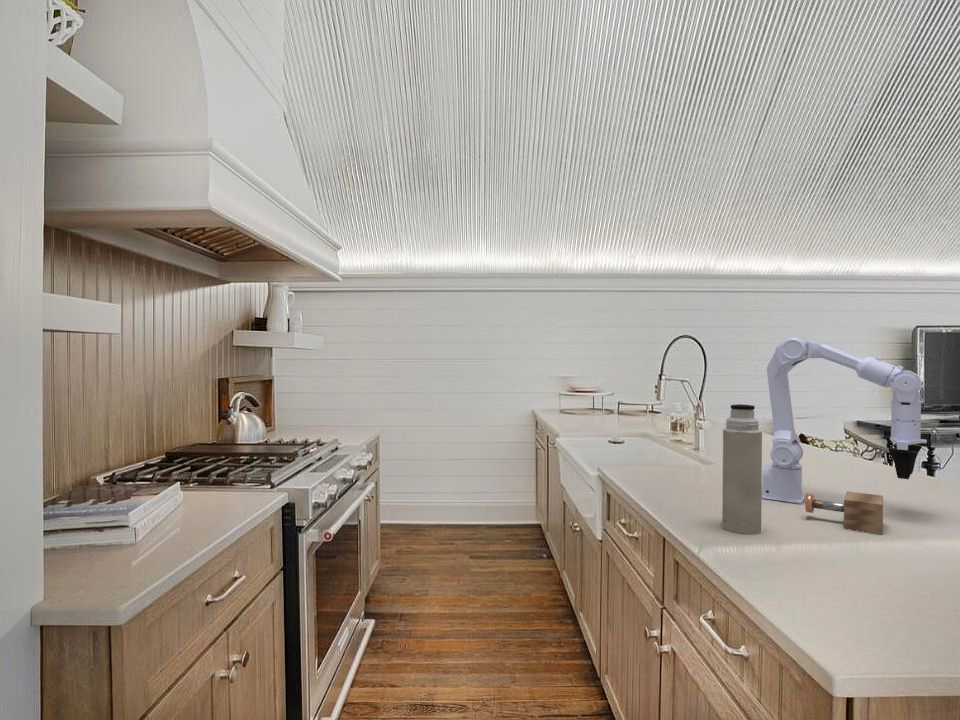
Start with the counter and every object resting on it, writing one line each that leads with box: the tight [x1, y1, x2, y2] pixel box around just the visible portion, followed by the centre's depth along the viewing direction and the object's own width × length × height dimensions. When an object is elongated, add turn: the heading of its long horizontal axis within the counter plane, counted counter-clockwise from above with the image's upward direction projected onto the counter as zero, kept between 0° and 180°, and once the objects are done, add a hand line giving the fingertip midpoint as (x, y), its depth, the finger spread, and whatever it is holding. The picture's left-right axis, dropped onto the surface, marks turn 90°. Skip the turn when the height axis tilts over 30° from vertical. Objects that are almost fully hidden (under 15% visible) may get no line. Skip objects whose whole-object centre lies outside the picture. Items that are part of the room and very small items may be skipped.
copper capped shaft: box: [804, 493, 844, 514], centre depth 131 cm, size 11×4×4 cm, turn 53°
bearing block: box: [843, 490, 884, 535], centre depth 128 cm, size 7×10×7 cm
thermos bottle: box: [721, 403, 763, 535], centre depth 125 cm, size 8×8×28 cm
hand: (905, 476), depth 135 cm, fingers open, 7 cm apart
